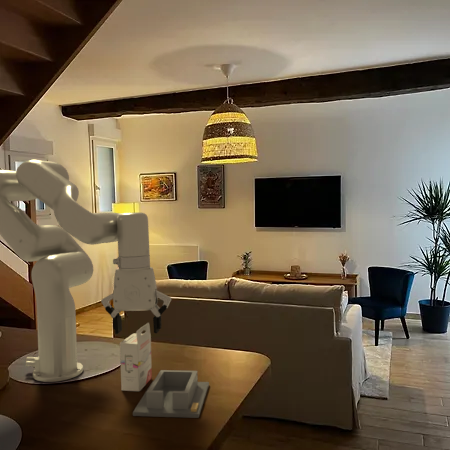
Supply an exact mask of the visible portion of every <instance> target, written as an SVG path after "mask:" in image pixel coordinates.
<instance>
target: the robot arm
mask: <svg viewBox="0 0 450 450" xmlns="http://www.w3.org/2000/svg"><path fill="white" fill-rule="evenodd" d="M78 199H79V188H78V187H77V185H76V184H75V183H74V182H72V181H70V175H69V173H68V170H67V169H66V168H65V167H64V166H63V165H62V164H61V163H59V162H55V161H49V160H41V159H31V160H30V159H29V160H26V161H24V162H22V163H20V164H19V165H18V167H17V168H16V170H7V169H5V170H4V169H0V236H1V237H2V239H3V240H4V241H5V243H7V245H8V246H9V247H10V248H11V249H12V250H13V251H14V253H15V255H17V256H18V257H19V258H20V259H21V260H23V261H25V262H35V263H34V265H33V266H32V269H31V274H30V275H31V282H32V286H33V290H34V294H35V302H36V318H37V319H36V322H37V347H38V349H37V352H38V356H36V357H35V356H27V357H26V359H25V367H29V368H30V367H34V370H33V372H32V379H34V380H36V381H38V382H45V383H55V382H56V383H57V382H61V381H67V380H70V379H72V378H76V377H78V376H79V375H81V374H82V373H83V371H84V364H82V363H81V362H78V352H77V351H78V349H77V345H78V344H77V319H76V318H77V317H76V316H77V313H76V303H75V300H74V297H73V295H72V293H71V291H70V288H73V287H77V286H80V285H81V286H82V285H84V284H85V283H87V282H88V281H89V280H90V279H91V278H92V277H93V274H94V265H93V261H92V259H91V258H90V256H89V255H88V254H87V252H86V251H85V250H84V249H83V248H82V246H80V244H79V243H78V242H77V241H76V240H78V241H79V242H81V243H82V244H86V245H89V246H90V245H93V246H94V245H100V244H109V243H114V242H117V253H118V256H117V257H116V258H113V259H112V264H113V265H117V269H115V271H114V278H113V289H112V290H113V291H112V292H113V293H111V294H109V295H107V296H106V297H104V298H102V299H101V300H100V302H101V304H102V305H103V307H104V311H106V312H107V313H108V314H109V315H110V317H111V318H112V328H113V330H114V334H115V335H117V334H120V332H122V331H123V328H122V327H123V325H122V324H123V323H122V315H121V314H120V313H121V312H122V311H123V312H130V311H131V312H134V311H135V312H136V311H138V312H139V311H141V312H142V311H151V313H152V314H153V315H154V316H153V318H152V319H153V320H152V322H153V323H152V324H153V333H154V334H158V333H159V332H160V331H161V329H162V314H163V313H164V312H165V311H166V310H167V309H168V308H169V306H170V303H171V301H172V297H171V296H169V295H167V294H165V293H163V292H161V291H159V290H158V288H157V282H156V276H155V275H156V274H155V272H154V267H151V258H150V257H151V256H150V231H149V218H148V215H147V214H146V213H145V212H123V213H119V212H91V211H89V210H88V209H86V208H85V207H83V206H82V205H80V204H79V203H78V202H77V201H78ZM34 200H39V201H40V202H42V203H43V204H45V205H46V206H47V207H48V208H50V209H51V210H52V211H53V215H54V217H55V220H56V221H57V223H58V225H55V224H54V225H53V224H46V225H45V224H44V225H39V224H36V223H35V222H34V220H32V219H31V217H29V215H28V214H27V213H26V212H25V211H24V210H23V209H21V208H20V207H19V206H17V205H15V204H13V203H12V202H27V201H28V202H29V201H34ZM73 237H74V238H75V239H74V238H73ZM159 299H160V300H161V301H163V304H162V305H161V307H160V306H159V305H158V303H159V301H158V300H159ZM111 301H112V303H113V305H111V303H110V302H111Z"/></svg>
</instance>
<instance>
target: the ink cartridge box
mask: <svg viewBox="0 0 450 450" xmlns="http://www.w3.org/2000/svg"><path fill="white" fill-rule="evenodd" d="M135 331H136V332H135V333H132V334H130V335H129V336H128V337H126V338H125V339H124V340H121V341H120V342H119V359H120V360H119V361H120V382H121V383H120V384H121V385H120V386H121V391H127V392H141V391H142V390H143V388H144V387H145V386H146V385H147V384H148V383H149V382H150V381H151V380H152V378H153V377H152V376H153V375H152V338H151V337H152V335H151V327H150V322H147V323H146V324H144V325H143V326H141V327H140V328H139V329H137V330H135ZM143 332H144V333H143Z"/></svg>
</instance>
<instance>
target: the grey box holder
mask: <svg viewBox="0 0 450 450" xmlns="http://www.w3.org/2000/svg"><path fill="white" fill-rule="evenodd" d="M198 380H199V379H198V370H180V369H179V370H176V369H174V370H173V369H172V370H171V369H170V370H169V369H168V370H167V369H160V371H159V372H158V374H157V375H156V377H155V378H154V380H152V382H151V383H150V385H149V386H148V388H147V389H146V390H145V392H144V394H143V396H142V397H141V399H140V400H139V402H138V403H137V405H136V406H135V408H134V410H133V411H132V416H133V417H152V418H153V417H163V418H188V419H189V418H190V419H191V418H194V419H195V418H196V419H197V418H198V419H199V417H200V416H201V411H202V409H203V404H204V403H205V399H206V396H207V393H208V389H209V387H210V382H209V381H198Z"/></svg>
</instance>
